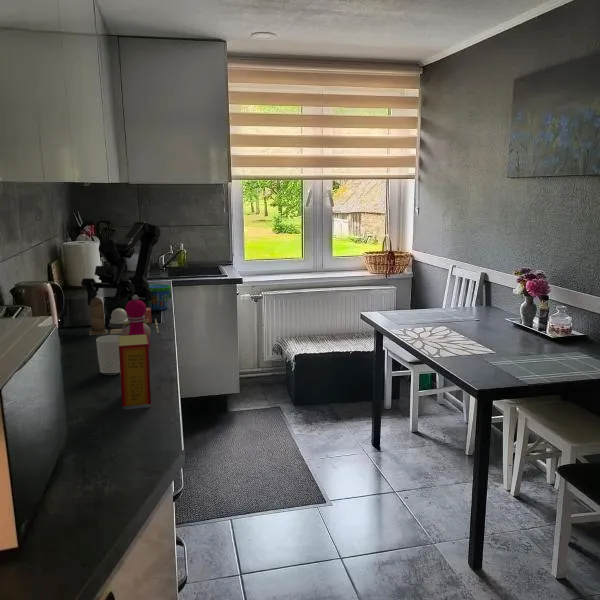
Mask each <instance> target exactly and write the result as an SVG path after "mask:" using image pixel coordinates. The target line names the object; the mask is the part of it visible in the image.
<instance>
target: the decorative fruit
mask: <svg viewBox="0 0 600 600" xmlns="http://www.w3.org/2000/svg"><path fill="white" fill-rule="evenodd" d="M149 325H150V323H148V322H147V321H144V322H143V327H144V331H145V333H146V335H147V337H148V339H150V337H151V328H150V326H149ZM123 326H124V327H123ZM122 327H123V328H121V329H122V331H121V333H120V335H122V336H126V335H128V334H129V331H130V323H129V322H127V323H125V324H124V325H122Z"/></svg>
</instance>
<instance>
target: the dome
mask: <svg viewBox="0 0 600 600" xmlns="http://www.w3.org/2000/svg"><path fill="white" fill-rule="evenodd" d="M110 316H111V317H110V318H109V323H111V324H125V323H127V322H129V321H128V314H127V313H126V310H125V309H124V308H120V307H118V308H115V309H113V310H112V312H111V314H110Z"/></svg>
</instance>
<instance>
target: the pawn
mask: <svg viewBox="0 0 600 600" xmlns="http://www.w3.org/2000/svg"><path fill="white" fill-rule="evenodd" d="M104 306H105V305H104V303H103V300H102V299H101V298H100V297H95V298H93V299H92V300H91V304H90V306H89V307H90V308H89V309H90V310H89V311H90V324H91V325H90V327H91V329H90V331H91V334H99V335H104V334H103V333H106V330H107V329H106V324H105V312H104V311H105V307H104Z"/></svg>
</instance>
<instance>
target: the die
mask: <svg viewBox="0 0 600 600" xmlns="http://www.w3.org/2000/svg"><path fill="white" fill-rule="evenodd" d="M144 316H145V317H144V318H145V320H144V321H147V322H148V323H149V324H153V323H152V310H151V308H150V307H148V308H146V312H145V313H144ZM148 323H147V324H148Z"/></svg>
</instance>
